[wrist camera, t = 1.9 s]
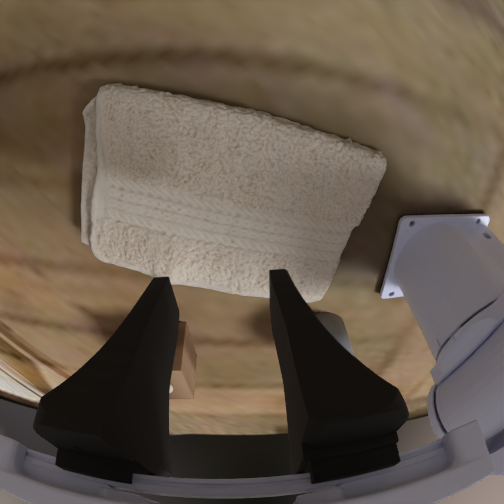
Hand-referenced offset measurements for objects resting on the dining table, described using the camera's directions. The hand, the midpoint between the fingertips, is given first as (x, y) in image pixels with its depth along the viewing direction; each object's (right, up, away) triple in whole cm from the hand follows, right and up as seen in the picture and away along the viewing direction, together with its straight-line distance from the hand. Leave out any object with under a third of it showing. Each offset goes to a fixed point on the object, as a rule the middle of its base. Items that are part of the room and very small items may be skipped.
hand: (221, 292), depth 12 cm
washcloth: (-1, +6, +7) cm, 9 cm away
